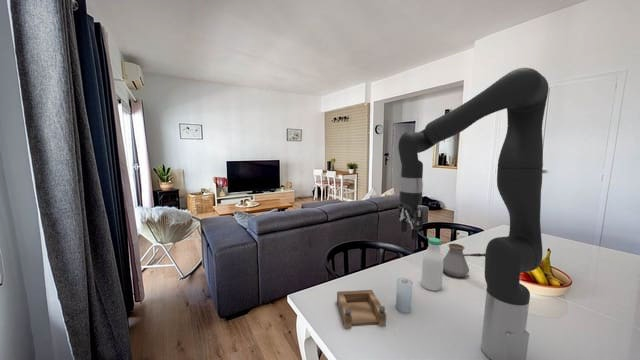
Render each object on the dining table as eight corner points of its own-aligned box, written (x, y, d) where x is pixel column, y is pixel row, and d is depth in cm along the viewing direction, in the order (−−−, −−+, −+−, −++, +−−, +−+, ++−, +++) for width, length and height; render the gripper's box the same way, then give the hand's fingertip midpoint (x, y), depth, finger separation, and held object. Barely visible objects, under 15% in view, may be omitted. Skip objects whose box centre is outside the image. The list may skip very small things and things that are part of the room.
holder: (385, 325, 81) (386, 309, 80) (345, 328, 80) (345, 311, 79) (371, 299, 95) (372, 285, 94) (336, 301, 93) (337, 287, 93)
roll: (413, 312, 88) (415, 284, 87) (399, 313, 87) (400, 285, 86) (406, 303, 93) (408, 276, 92) (393, 304, 92) (394, 277, 91)
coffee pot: (434, 269, 120) (436, 238, 118) (452, 265, 124) (455, 235, 122) (477, 293, 100) (481, 257, 98) (497, 288, 105) (501, 252, 103)
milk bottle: (443, 292, 101) (447, 243, 98) (423, 290, 102) (426, 241, 100) (438, 282, 108) (442, 236, 106) (419, 280, 110) (422, 235, 107)
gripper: (432, 193, 83) (428, 242, 85) (411, 187, 97) (409, 228, 99) (409, 193, 82) (407, 242, 84) (392, 187, 96) (390, 229, 98)
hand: (408, 235), depth 91 cm, fingers open, 8 cm apart
